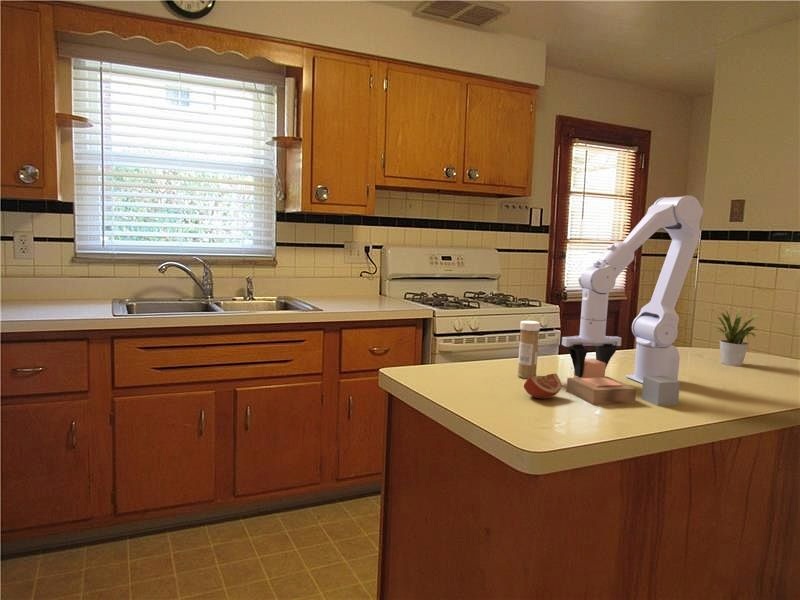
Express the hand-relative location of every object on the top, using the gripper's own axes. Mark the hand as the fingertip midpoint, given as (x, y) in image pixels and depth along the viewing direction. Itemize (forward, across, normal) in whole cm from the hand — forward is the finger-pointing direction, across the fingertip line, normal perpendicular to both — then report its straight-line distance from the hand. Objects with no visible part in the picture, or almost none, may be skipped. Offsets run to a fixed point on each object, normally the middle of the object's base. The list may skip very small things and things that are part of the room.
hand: (589, 375), depth 138 cm
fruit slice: (+2, +18, +11) cm, 21 cm away
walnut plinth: (+2, +5, +12) cm, 13 cm away
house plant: (+2, -53, -14) cm, 55 cm away
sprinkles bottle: (+2, +13, -6) cm, 14 cm away
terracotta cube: (+1, 0, 0) cm, 1 cm away
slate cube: (+2, -6, +17) cm, 18 cm away
